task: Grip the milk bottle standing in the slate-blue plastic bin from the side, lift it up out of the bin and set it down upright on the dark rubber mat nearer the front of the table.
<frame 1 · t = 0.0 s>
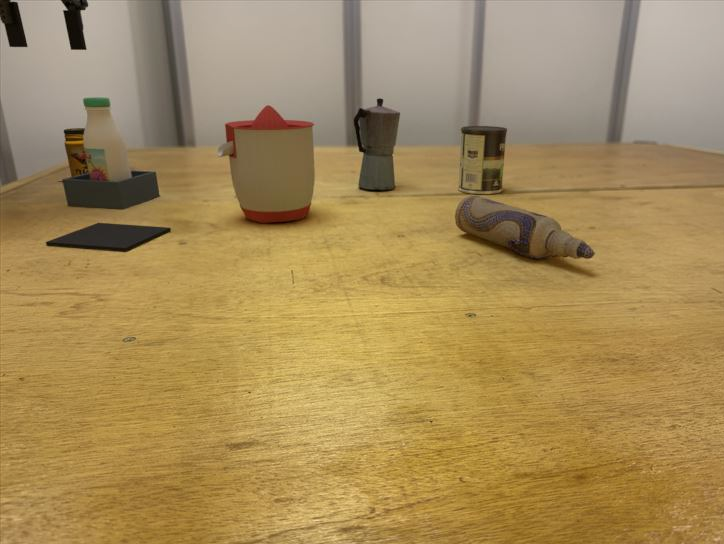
hand: (50, 48, 96), 29 cm above the table, tool pointing down, fingers open, 13 cm apart
natural sponge: (111, 171, 148), on the table
decorative bottle: (513, 251, 87), on the table
coffee can: (479, 191, 130), on the table
milk bottle: (115, 200, 115), resting on bin
condiment: (83, 180, 136), on the table
mat: (111, 237, 90), on the table
moka pot: (376, 189, 130), on the table
bin: (115, 200, 115), on the table
citrus juicer: (272, 217, 104), on the table
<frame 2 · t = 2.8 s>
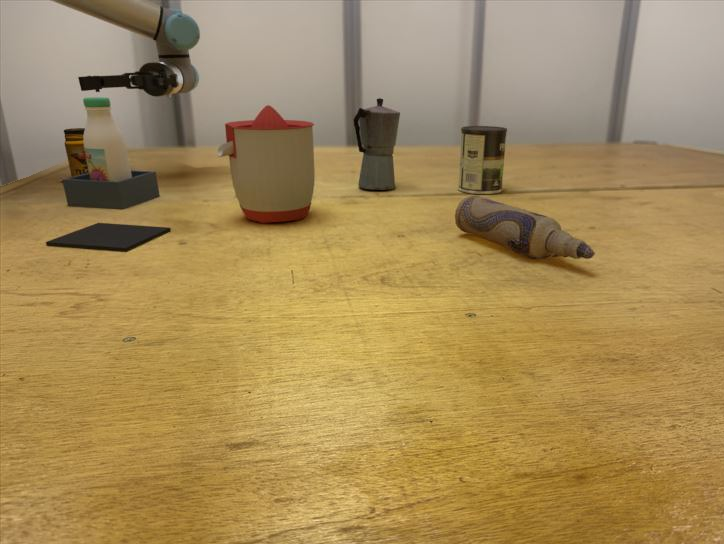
hand: (112, 83, 114), 23 cm above the table, tool horizontal, fingers open, 13 cm apart
nothing on the table moved.
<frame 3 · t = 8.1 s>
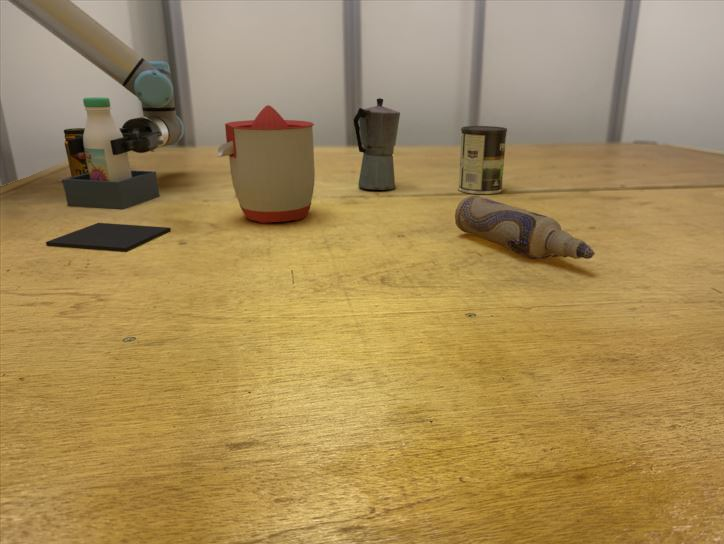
hand: (92, 147, 106), 11 cm above the table, tool horizontal, fingers closed on milk bottle, 8 cm apart
milk bottle: (115, 200, 115), resting on bin, touching gripper
everything else where it was.
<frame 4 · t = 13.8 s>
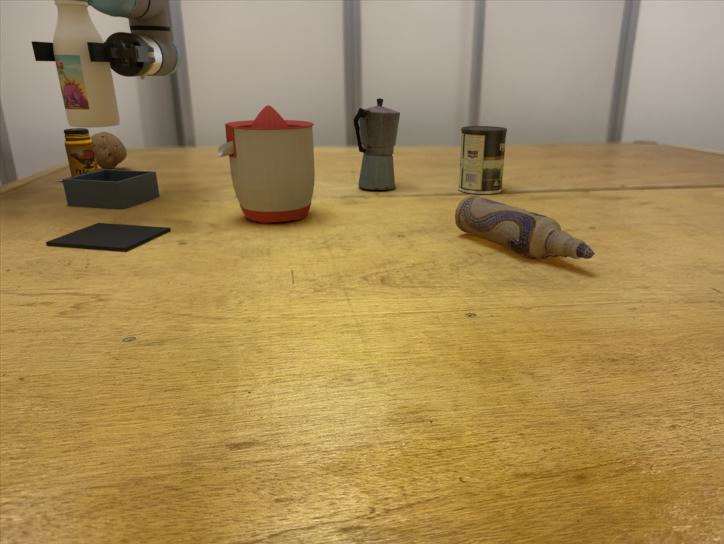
hand: (63, 51, 83), 28 cm above the table, tool horizontal, fingers closed on milk bottle, 8 cm apart
milk bottle: (95, 127, 92), point 17 cm above the table, touching gripper
everything else where it was.
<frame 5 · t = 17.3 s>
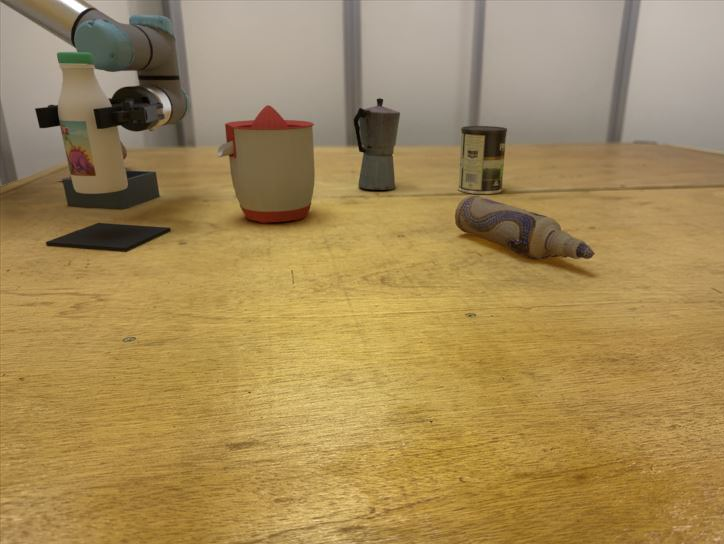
hand: (68, 118, 79), 19 cm above the table, tool horizontal, fingers closed on milk bottle, 8 cm apart
milk bottle: (102, 191, 87), point 8 cm above the table, touching gripper
everything else where it was.
when the fingers open (12 cm above the table, at t = 19.8 s): milk bottle stays where it is, resting on mat.
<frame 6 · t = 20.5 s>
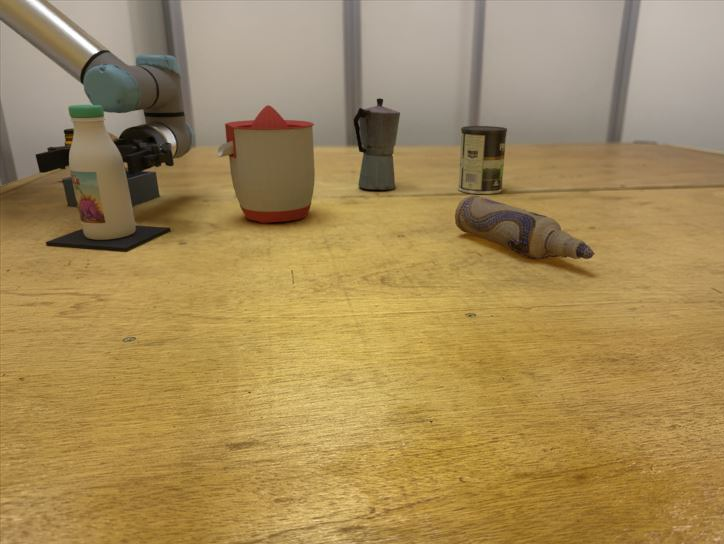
hand: (84, 164, 83), 12 cm above the table, tool horizontal, fingers open, 13 cm apart
milk bottle: (111, 235, 90), resting on mat
everything else where it was.
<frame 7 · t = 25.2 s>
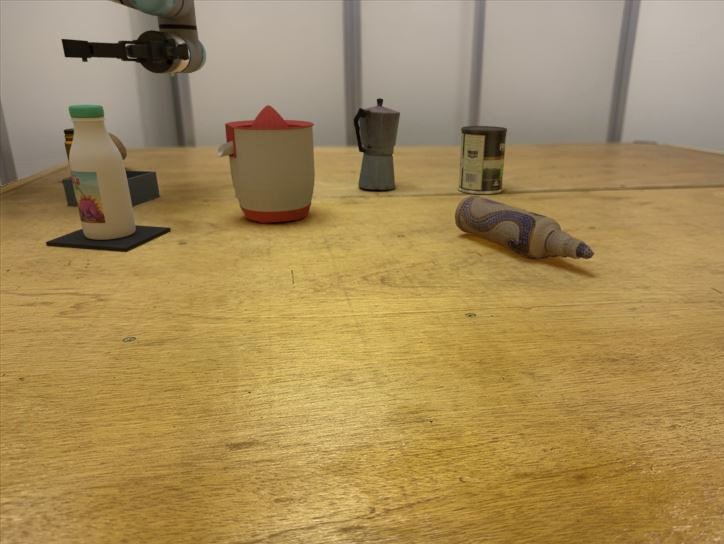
hand: (107, 49, 88), 29 cm above the table, tool horizontal, fingers open, 13 cm apart
nothing on the table moved.
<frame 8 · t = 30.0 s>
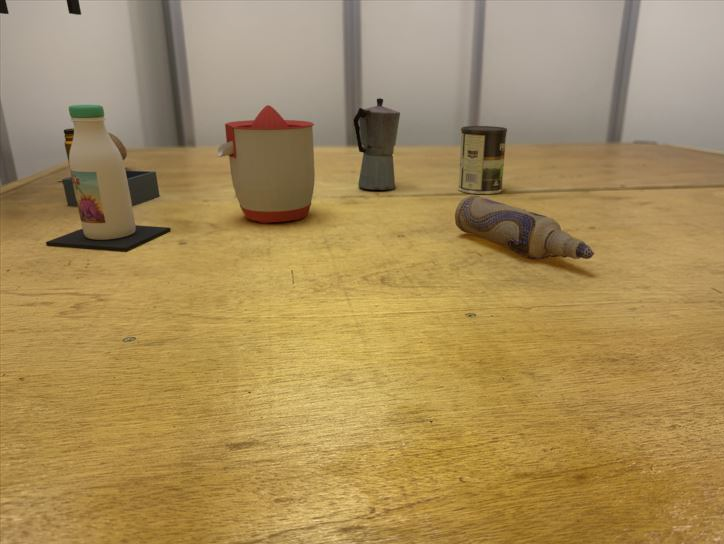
hand: (38, 14, 101), 35 cm above the table, tool pointing down, fingers open, 13 cm apart
nothing on the table moved.
at the end: milk bottle inside the target area on the mat (0.0 cm from its centre), point 0.4 cm above the mat's base; milk bottle tilted 0°; the gripper is holding nothing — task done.
